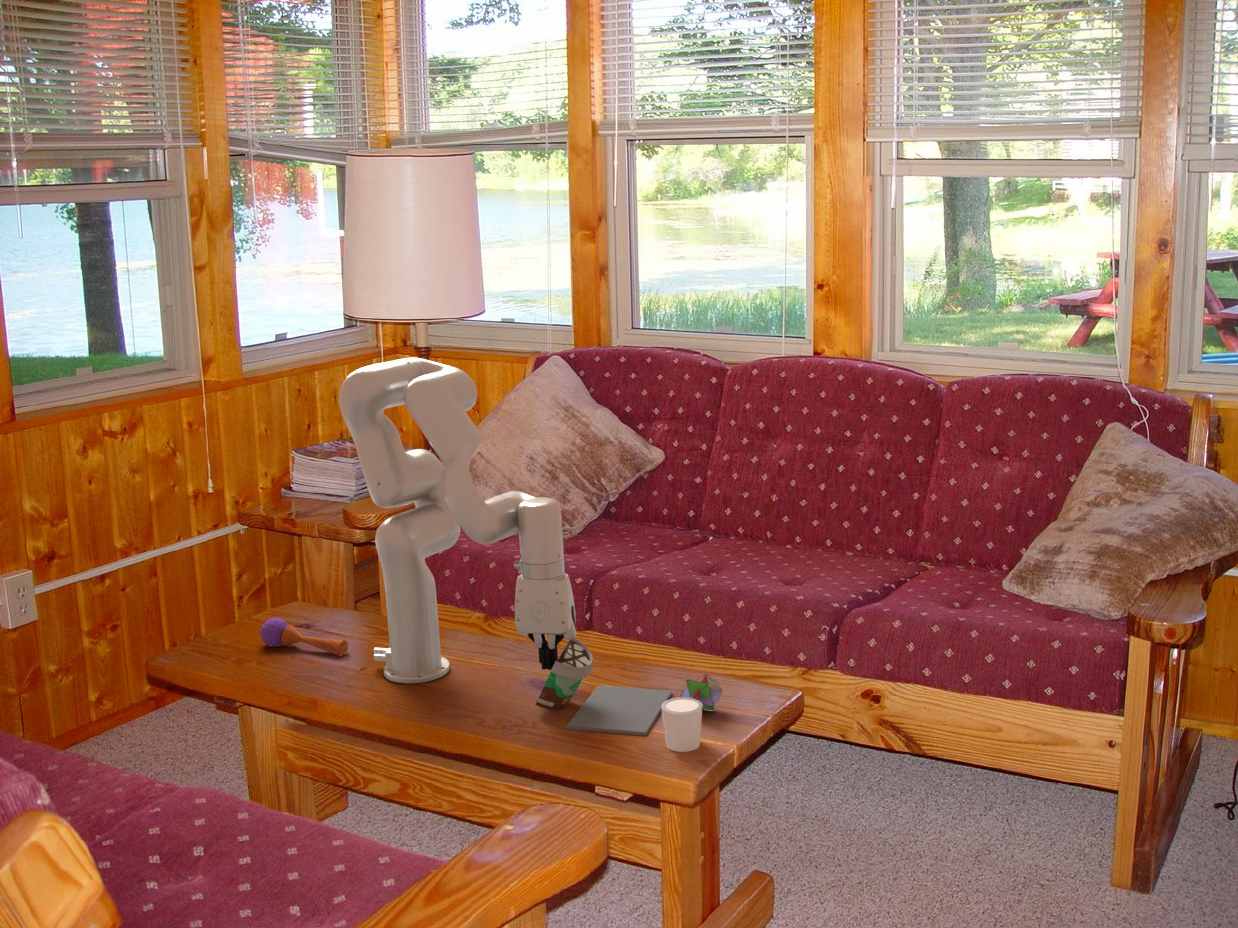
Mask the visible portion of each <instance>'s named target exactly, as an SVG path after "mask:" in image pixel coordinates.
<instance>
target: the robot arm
mask: <svg viewBox="0 0 1238 928" xmlns="http://www.w3.org/2000/svg"><path fill="white" fill-rule="evenodd" d="M477 399H478V390H477V386H476V384H475V382H474V380H473V379H472V378H471V377H470V375H469V374H468V373H467V372H466V371H464V370H462V369H460V368H458V367H455V366H451V365H448V364H443V363H440V362H436V361H432V360H430V359H425V358H420V357H404V358H399V359H394V360H389V361H384V362H383V361H382V362H378V363H373V364H370V365H369V364H368V365H365V366H363V367H359V368H357V369H356V370H354V371H353V372H350V373H349V375H347V376H346V377H345V379H344V381H343V382H342V384H341V387H340V389H339V395H338V404H339V409H340V412H341V416H342V418H343V421H344V423H345V426H346V428H347V430H348V431H349V433H350V436H351V438H352V440H353V443H354V446H355V449H356V454H357V458H358V461H359V464H360V467H361V470H362V475H363V477H364V481H365V484H366V487H367V490H368V493H369V496H370V498H371V500H372V502H373V504H375V505H376V506H377V507H379V508H381V509H392V508H396V507H397V508H398V507H400V506H403V505H407V504H409V503H414V507H415V508H413V509H408V510H405V511H403V512H400V513H396V514H395V515H394V514H393V515H392V516H390V517H388V518H386V519H385V520H384V521H383V522H382V523H380V525H379V526H378V528H377V529H376V532H375V539H374V543H375V548H376V552H377V554H378V558H379V562H380V566H381V569H382V571H381V572H382V577H383V582H384V592H385V593H384V594H385V595H384V596H385V602H386V603H385V604H386V616H387V627H388V638H389V648H385V647H377V646H376V647H374V649H373V651H372V652H373V661H376V662H384V663H385V665H384V668H383V675H384V677H385V678H386V679H387V680H388V681H391V682H395V683H398V684H421V683H427V682H432V681H434V680H437V679H439V678H443V676H446V674H448V673H449V671H450V668H451V667H450V666H451V664H450V662H449V660H448V659H447V658H445V657H444V656H442V653H441V642H440V641H441V640H440V627H439V626H440V624H439V614H438V613H439V612H438V611H439V610H438V600H437V590H436V589H437V587H436V581H435V577H434V575H433V573H432V572H431V570H430V568H429V566H428V565H427V563H426V559H427V558H429V557H431V556H433V555H436V554H438V553H441V552H443V551H446V550H448V549H450V548H451V547H453V546H454V545H455V544H456V543H457V542H458V540H459V537H460V533H461V529H462V530H463V532H464V533H465V534H466V535H467V537H468V538H469V539H471V540H472V541H473V542H475V543H477V544H480V545H491V544H493V543H497V542H499V541H501V540H504V539H506V538H509V537H512V536H516V535H519V537H518V538H519V539H518V540H519V552H520V554H519V555H520V559H519V560H514V561H513V568H514V569H517V570H519V572H520V575H518V576H517V577H516V578H517V579H516V584H515V595H514V597H515V598H514V625H515V628H516V630H517V634H518V635H521V636H523V637H526V638H529V639H530V640H531V641H532V642H533V643H534V644H535V648H537V650H538V662H539V664H541V670H547V671H551V670H552V667H553V665H554V663H555V661H557V660H558V659H559V656H558V655H559V654H558V653H559V652H558V645H559V644H560V642H561V641H562V640H569V639H570V638H573V637H574V638H575V637H576V635H577V629H576V626H575V625H576V620H577V619H576V618H577V616H576V608H575V606H576V605H575V599H574V594H573V593H574V592H573V588H572V584H571V580H570V577H569V575H568V573H565V572H566V571H565V558H564V557H565V556H564V540H563V538H564V537H563V523H562V522H563V521H562V509H561V505H560V502H559V501H557V499H554V498H552V497H547V496H546V497H544V496H543V497H537V496H533V495H531V494H529V493H526V492H523V491H519V490H510V491H508V492H504V493H501V494H498V495H495V496H492V497H490V498H487V499H483V497H482V496H481V494H479V493H480V492H478V490H477V489H476V487H475V486H474V485H475V484H473V481H472V478H471V474H470V466H471V460H472V458H473V457H474V456H475V455H476V454H477V453H478V452H479V451H480V449H481V448H482V446H483V443H484V439H483V435H482V434H481V432H480V431H479V430H478V429H479V428H477V426H476V425H475V424H474V422H473V421H472V419H471V417H470V416H469V415H468V413H467V412H468V411H469V410H471V409H473V407H474V406H475V405H476V402H477ZM403 405H404V406H405V407H406V409H407V411H408V412H409V414H410V416H411V417H412V418H413V420H414V421H415V423H416V425H417V426H418V427H419V429H420V431H421V432H422V434H423V435H424V437H425V438H426V440H427V442H429V444H430V446H431V447H432V449H433V450H434V452H435V453H436V455H437V456H438V457H439V458H438V457H437V456H436V455H435V454H434V453H433V452H431V451H429V450H428V449H423V448H416V449H411V450H410V449H409V450H408V451H406V450H405V447H404V445H403V443H402V439H401V436H400V431H399V430H398V428H397V427H396V425H395V423H394V422H393V421H392V420H391V419H390V418H389V417H388V416H387V415H386V414H384V413H383V412H384V410H387V409H390V408H394V407H398V406H403ZM547 635H548V638H547Z"/></svg>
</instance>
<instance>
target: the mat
mask: <svg viewBox="0 0 1238 928" xmlns="http://www.w3.org/2000/svg"><path fill="white" fill-rule="evenodd" d="M672 694H673V691H672V690H667V689H666V690H664V689H653V688H652V689H650V688H639V687H637V688H636V687H626V686H625V687H624V686H613V685H612V686H610V685H601V684H600V685H599V684H598V685H597V686H596V687H595V688H594V690H593V691H592V692H591V694H590V695H589V696H588V697H587V699H586V701H585V702H584V703H583V704H582V705H581V706H580V708H579V709H578V711H577V712H576V713H575V714H574V716H573V717H572V718H571V720H569V722H568V723H567V724H566V729H567V730H568V729H569V730H579V731H590V732H601V733H602V732H603V733H610V734H611V733H612V734H622V735H633V736H634V735H635V736H644V737H645V736H646V737H647V734H648V733H649V731H650V730H651V728H652V727H653V724H655V722H656V720H657V718H658V717H659V716H660V713H662V709H661V706H662V704H663V703H664V702H665V701H667V700H670V699H671V696H672Z"/></svg>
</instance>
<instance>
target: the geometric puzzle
mask: <svg viewBox="0 0 1238 928" xmlns="http://www.w3.org/2000/svg"><path fill="white" fill-rule="evenodd" d="M702 677H703V678H702V680H701V681H697V680H698V679H700V677H698V678H697V680H691V679H689V678H687V679H685V683H684V684H686V687H685V686H683V687H682V688H683V689H684V687H685V689H684V690H683V689H682V691H681V692H682V693H681V694H679V695H680V696H679V698H692V699H696V700H698V701H700V702H701V703H702V704H703V705H702V709H707V711H706V710H704V712H702V715H704V713H706V712H709V711H708V710H713V711H715V708H717V706H718V705H716V703H718V701H719V700H720V698H721V696H722V693H723V691H724V690H723V689H722V688H721V685H720V683H719V682H718V680H717V679H716V678H713V677H712V676H710V675H708V674H707V673H705V674H702ZM715 705H716V707H715Z"/></svg>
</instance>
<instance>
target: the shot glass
mask: <svg viewBox="0 0 1238 928" xmlns="http://www.w3.org/2000/svg"><path fill="white" fill-rule="evenodd" d="M702 705H703V704H702V703H701V702H700V701H698V700H696V699H692V698H680V697H674V698H669V700H667V701H665V702H664V703H663V704H662V706H661V709H662V711H661V715H662V723H663V731H664V738H665V739H664V740H665V745H666V747H667V748H668V749H669V750H671V751H674V752H678V753H680V752H681V753H687V752H692V751H694V750H697V749H699V747H700V746H701V733H702V732H701V730H702V715H703V714H702V713H703V710H702Z"/></svg>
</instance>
